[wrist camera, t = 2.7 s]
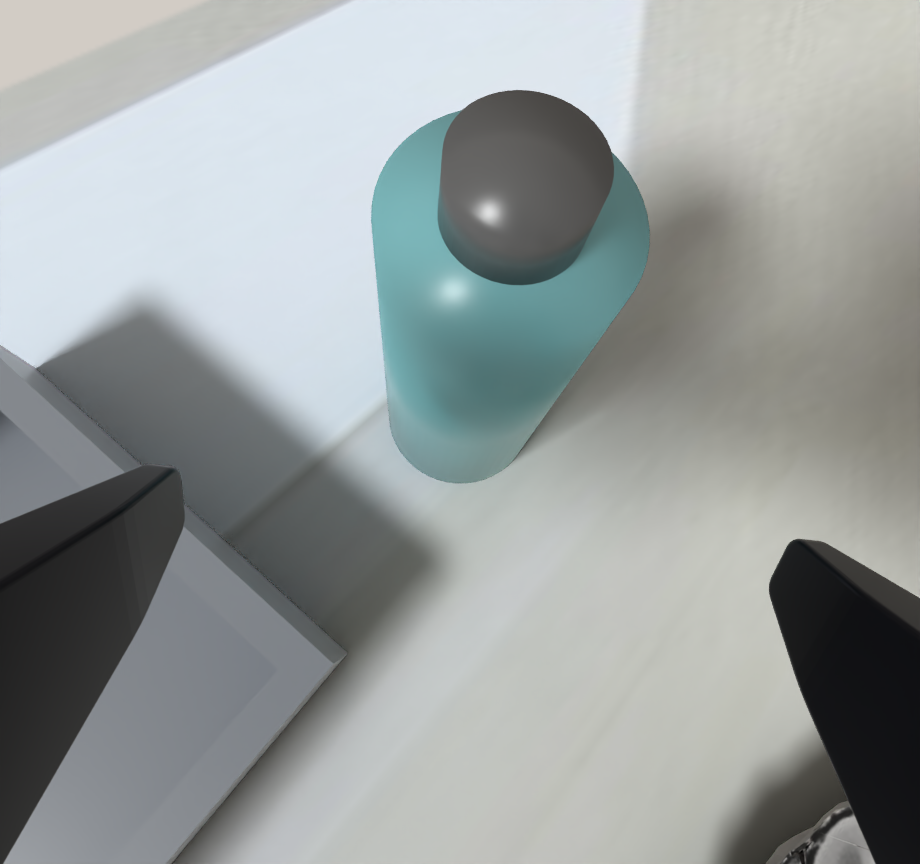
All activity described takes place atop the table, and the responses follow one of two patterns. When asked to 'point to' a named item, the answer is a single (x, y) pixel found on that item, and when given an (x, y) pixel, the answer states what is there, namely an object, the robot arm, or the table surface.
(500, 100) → the capped bottle
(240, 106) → the table surface
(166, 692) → the tray
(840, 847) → the brain slice
